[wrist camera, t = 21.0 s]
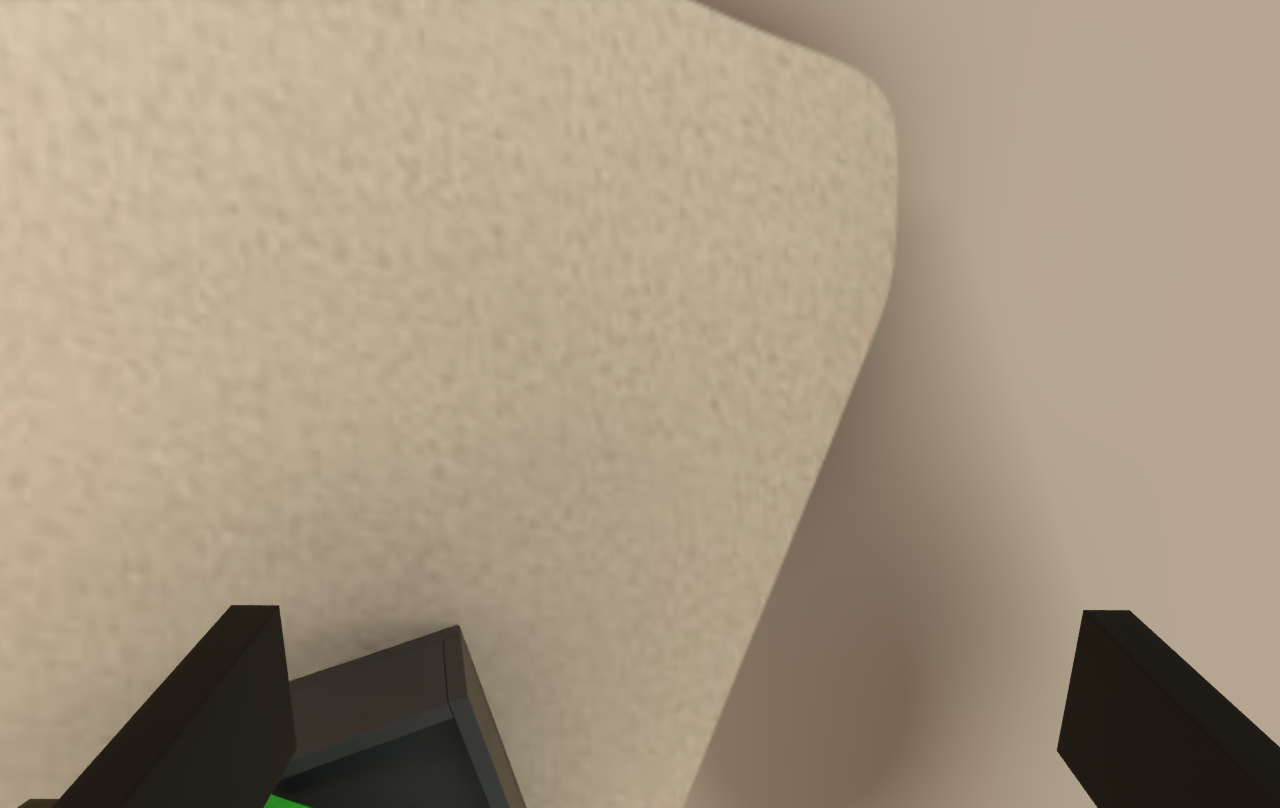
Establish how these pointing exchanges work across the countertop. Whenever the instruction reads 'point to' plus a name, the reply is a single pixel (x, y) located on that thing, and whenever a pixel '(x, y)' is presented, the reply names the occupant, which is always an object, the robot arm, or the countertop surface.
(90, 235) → the countertop surface
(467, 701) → the dark grey open tray
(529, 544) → the countertop surface
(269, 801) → the mechanical part
